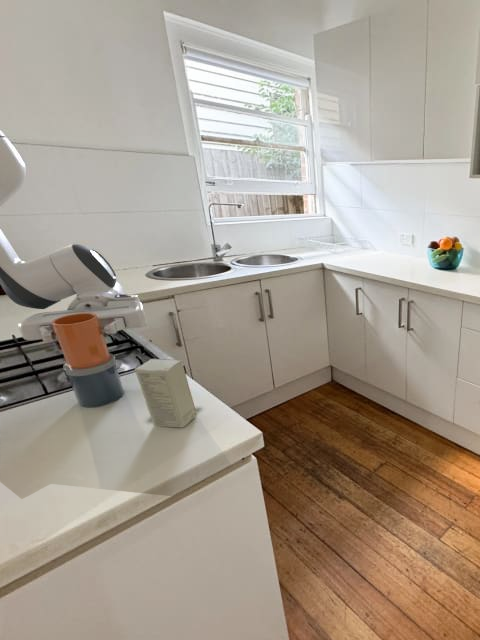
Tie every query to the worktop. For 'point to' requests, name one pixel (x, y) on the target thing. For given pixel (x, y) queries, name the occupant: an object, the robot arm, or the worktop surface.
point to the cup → (81, 340)
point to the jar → (96, 383)
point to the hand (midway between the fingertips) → (79, 334)
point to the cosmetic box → (166, 392)
